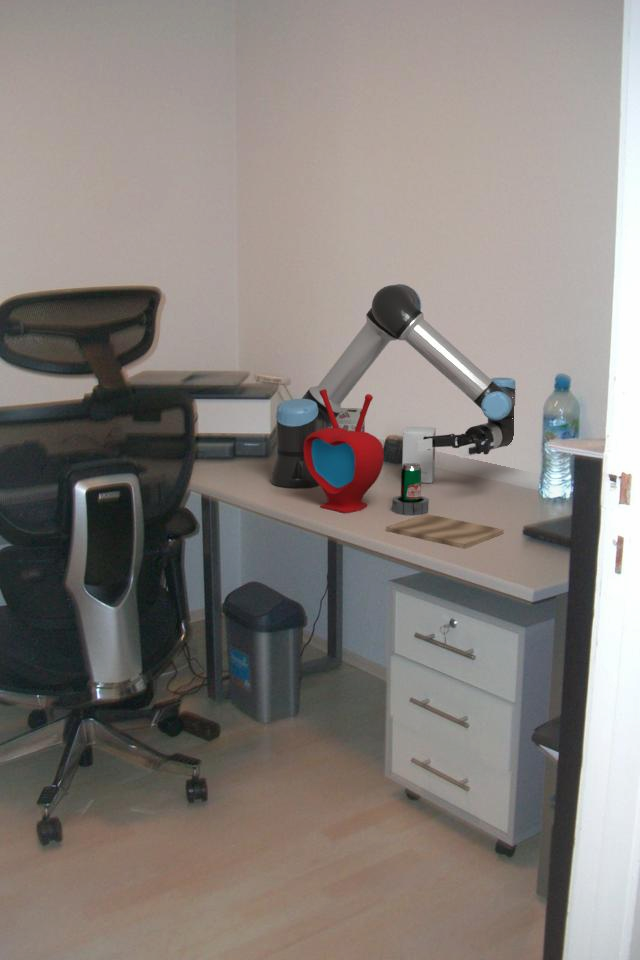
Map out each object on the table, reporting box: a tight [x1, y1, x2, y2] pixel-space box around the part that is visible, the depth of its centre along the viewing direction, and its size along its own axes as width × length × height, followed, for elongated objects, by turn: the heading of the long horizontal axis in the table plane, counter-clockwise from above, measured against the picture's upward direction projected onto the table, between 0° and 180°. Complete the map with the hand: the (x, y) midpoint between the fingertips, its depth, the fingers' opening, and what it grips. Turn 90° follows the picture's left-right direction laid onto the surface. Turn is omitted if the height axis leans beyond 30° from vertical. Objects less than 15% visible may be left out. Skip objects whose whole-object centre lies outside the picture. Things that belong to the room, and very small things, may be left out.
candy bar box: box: [331, 407, 366, 432], centre depth 307 cm, size 11×5×16 cm, turn 74°
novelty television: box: [303, 389, 385, 514], centre depth 243 cm, size 21×13×30 cm, turn 46°
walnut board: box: [385, 513, 504, 549], centre depth 222 cm, size 22×16×1 cm
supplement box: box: [401, 426, 437, 484], centre depth 276 cm, size 9×9×15 cm
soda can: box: [400, 463, 422, 503], centre depth 241 cm, size 5×5×12 cm
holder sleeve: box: [391, 495, 430, 516], centre depth 242 cm, size 9×9×3 cm
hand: (438, 449), depth 247 cm, fingers open, 13 cm apart
